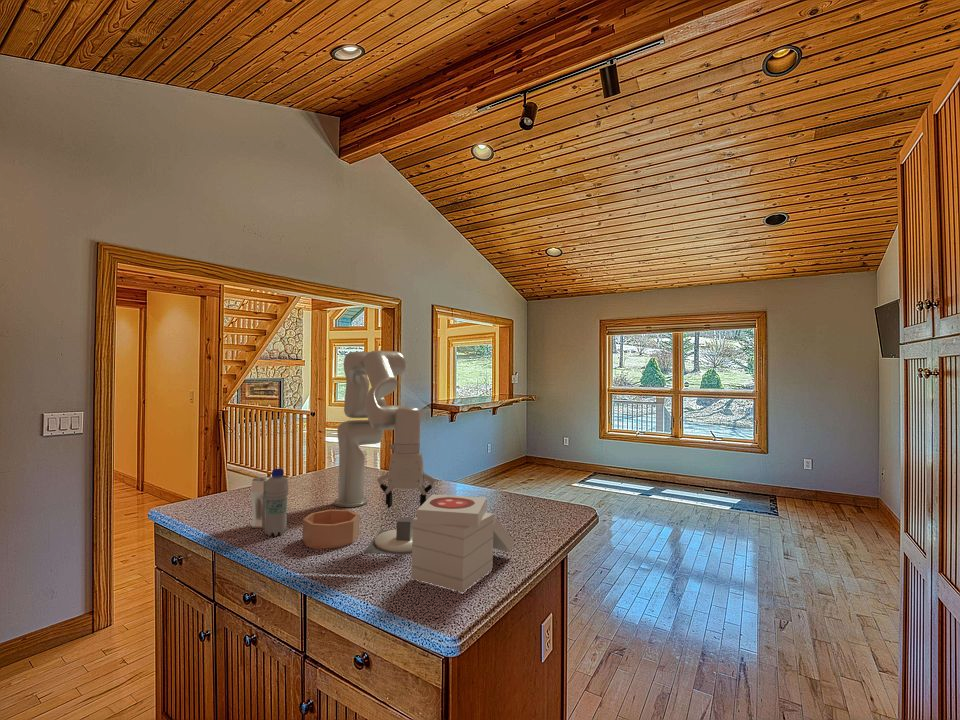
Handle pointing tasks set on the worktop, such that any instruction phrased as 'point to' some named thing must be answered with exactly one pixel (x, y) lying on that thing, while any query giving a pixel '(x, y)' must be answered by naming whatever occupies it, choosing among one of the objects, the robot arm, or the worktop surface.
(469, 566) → the pizza boxes
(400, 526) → the lid
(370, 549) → the mat
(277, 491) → the bottle
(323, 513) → the bowl
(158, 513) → the worktop surface
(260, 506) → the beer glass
